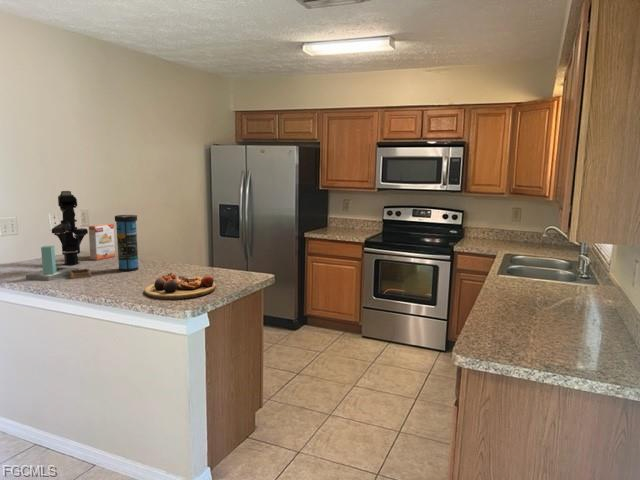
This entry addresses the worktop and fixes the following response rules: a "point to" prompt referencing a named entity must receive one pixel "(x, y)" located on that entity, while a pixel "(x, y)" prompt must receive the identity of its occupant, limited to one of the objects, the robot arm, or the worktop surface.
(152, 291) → the wooden plate with food
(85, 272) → the cubby
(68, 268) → the board
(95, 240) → the cracker box
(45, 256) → the post
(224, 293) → the worktop surface
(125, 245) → the advertising column
